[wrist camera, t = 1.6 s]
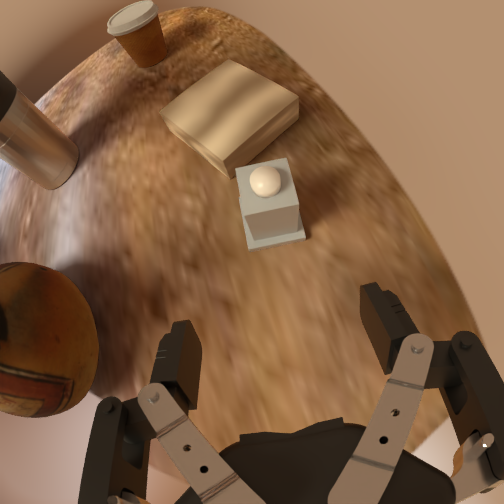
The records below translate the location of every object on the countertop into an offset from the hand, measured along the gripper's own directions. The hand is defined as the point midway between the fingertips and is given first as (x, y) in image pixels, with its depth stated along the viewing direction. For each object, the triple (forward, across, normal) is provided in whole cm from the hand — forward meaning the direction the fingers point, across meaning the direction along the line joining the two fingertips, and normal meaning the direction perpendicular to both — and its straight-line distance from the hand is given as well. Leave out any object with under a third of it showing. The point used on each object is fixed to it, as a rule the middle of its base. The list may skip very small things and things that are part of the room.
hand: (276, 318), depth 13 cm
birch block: (+33, +1, -6) cm, 33 cm away
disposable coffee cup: (+49, +14, -22) cm, 55 cm away
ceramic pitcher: (+14, +31, +12) cm, 36 cm away
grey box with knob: (+22, -1, +5) cm, 22 cm away
